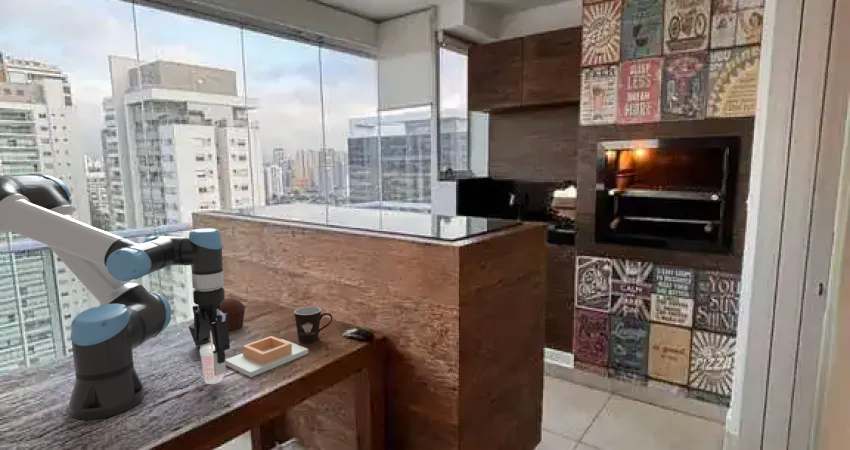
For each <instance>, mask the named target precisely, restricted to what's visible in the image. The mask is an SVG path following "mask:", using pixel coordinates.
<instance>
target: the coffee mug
mask: <svg viewBox="0 0 850 450" xmlns="http://www.w3.org/2000/svg"><path fill="white" fill-rule="evenodd" d="M321 313H322V309H321V308H320V307H319V306H303V307H299V308H296V309H295V310H294V311H293V314H294V320H295V326H296V331H297V332H296V333H297V339H298V342H299V343H301V344H311V343H315V342H317V341H318V340H319V333H320V332H321V331H322V330H324V329H325V328H327V327H328V326H329V325H330V324H331V323H332V321H333V316H332V313H330V312H325V313H322V314H321ZM324 316H329V317H330V321H329V322H328V323H327V324H325V325H324V326H322V327H321V328H320V325H321V324H320V323H321V320H322V318H323V317H324Z"/></svg>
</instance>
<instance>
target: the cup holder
mask: <svg viewBox="0 0 850 450" xmlns="http://www.w3.org/2000/svg"><path fill="white" fill-rule="evenodd" d="M307 354H309V348H307V347H306V346H305V347H304V346H302V345H299V344H296V343H294V342H292V341H289V340H285V339H283V338H278V337H275V336H274V335H270V336H267V337H264V338H261V339H259V340H256V341H253V342H250V343H247V344H245V345H242V353H240V354H236V355H234V356H231V357H228V358H225V367H229V368H231V369H233V370H235V371H237V372H240V373H241V374H243V375H245V376H247V377H250V378H252V377H255V376H257V375H260V374H262V373H265V372H268V371H270V370H272V369H275V368H277V367H280V366H281V365H284V364H285V363H286V364H288V363H289V362H292V361H293V360H296V359H298V358H301V357H303V356H306V355H307Z"/></svg>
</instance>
